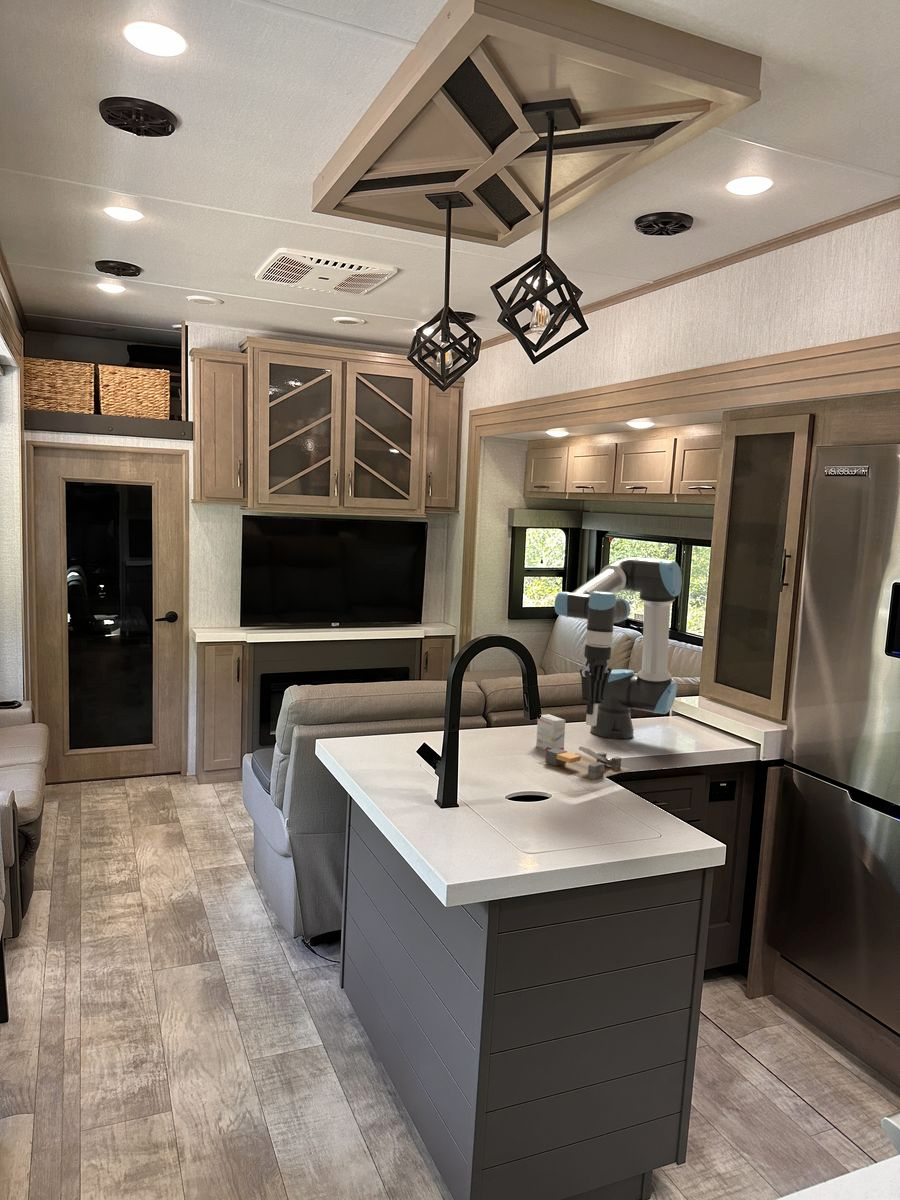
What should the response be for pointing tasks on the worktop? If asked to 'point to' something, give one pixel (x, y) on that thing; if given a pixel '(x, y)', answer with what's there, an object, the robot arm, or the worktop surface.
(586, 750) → the strap
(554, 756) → the latch
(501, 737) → the worktop surface
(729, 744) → the worktop surface
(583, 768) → the board
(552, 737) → the ink box
